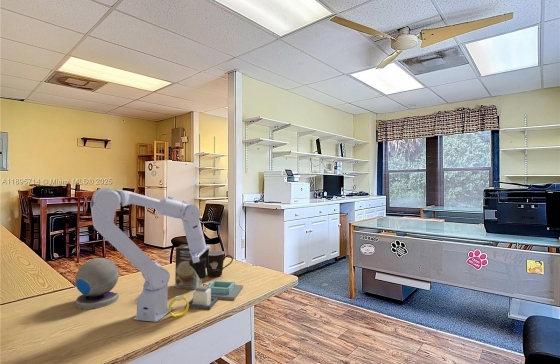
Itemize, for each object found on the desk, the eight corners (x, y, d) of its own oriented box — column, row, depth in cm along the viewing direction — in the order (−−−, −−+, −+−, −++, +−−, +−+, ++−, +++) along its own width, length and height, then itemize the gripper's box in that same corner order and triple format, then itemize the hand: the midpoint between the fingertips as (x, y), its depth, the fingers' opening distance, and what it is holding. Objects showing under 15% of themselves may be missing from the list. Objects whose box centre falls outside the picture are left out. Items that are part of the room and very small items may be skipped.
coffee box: (174, 288, 116) (174, 247, 116) (181, 282, 123) (181, 244, 122) (196, 289, 115) (197, 248, 115) (202, 283, 122) (203, 244, 122)
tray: (210, 309, 98) (210, 306, 98) (185, 307, 100) (185, 304, 100) (217, 300, 105) (217, 297, 105) (194, 298, 107) (194, 296, 107)
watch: (186, 312, 97) (188, 294, 97) (188, 316, 94) (190, 297, 95) (167, 315, 94) (169, 296, 94) (169, 319, 91) (170, 299, 92)
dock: (234, 300, 106) (234, 291, 106) (197, 297, 108) (197, 289, 108) (243, 287, 118) (243, 280, 118) (209, 285, 120) (209, 278, 120)
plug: (206, 307, 100) (207, 289, 100) (193, 305, 101) (193, 288, 101) (210, 302, 104) (210, 285, 104) (197, 301, 105) (197, 284, 105)
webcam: (126, 296, 108) (126, 255, 108) (96, 311, 96) (96, 265, 96) (98, 292, 112) (98, 252, 111) (65, 306, 99) (65, 262, 99)
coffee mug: (200, 277, 130) (201, 254, 129) (211, 271, 138) (211, 249, 138) (224, 280, 126) (225, 256, 126) (233, 273, 134) (233, 252, 134)
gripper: (203, 241, 96) (213, 279, 98) (209, 228, 110) (217, 261, 113) (182, 246, 95) (192, 284, 98) (190, 232, 110) (199, 265, 112)
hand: (204, 272), depth 105 cm, fingers open, 7 cm apart
